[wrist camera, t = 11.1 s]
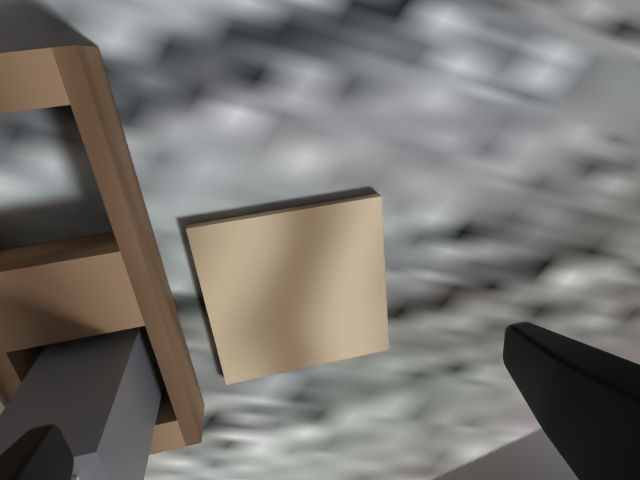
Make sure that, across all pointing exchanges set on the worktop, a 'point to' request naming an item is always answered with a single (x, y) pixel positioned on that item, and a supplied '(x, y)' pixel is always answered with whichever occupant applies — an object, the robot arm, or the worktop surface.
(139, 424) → the plug
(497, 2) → the worktop surface
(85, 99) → the socket strip
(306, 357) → the pad
